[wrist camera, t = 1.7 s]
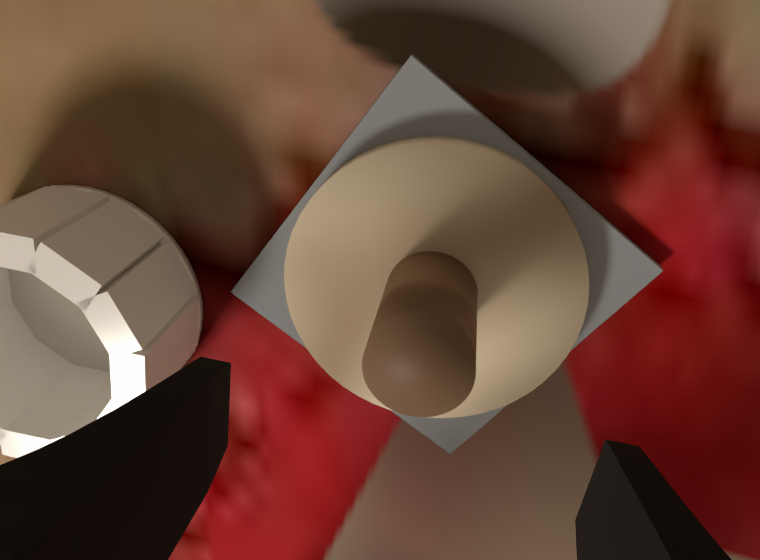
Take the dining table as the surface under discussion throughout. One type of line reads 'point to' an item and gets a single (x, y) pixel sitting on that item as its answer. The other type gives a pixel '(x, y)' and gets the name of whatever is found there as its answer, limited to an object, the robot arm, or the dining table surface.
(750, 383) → the dining table surface
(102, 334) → the bowl
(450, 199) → the lid
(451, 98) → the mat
